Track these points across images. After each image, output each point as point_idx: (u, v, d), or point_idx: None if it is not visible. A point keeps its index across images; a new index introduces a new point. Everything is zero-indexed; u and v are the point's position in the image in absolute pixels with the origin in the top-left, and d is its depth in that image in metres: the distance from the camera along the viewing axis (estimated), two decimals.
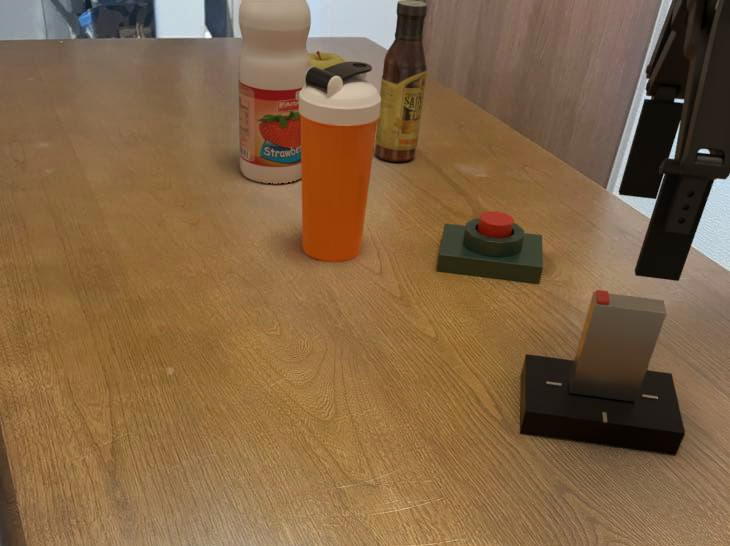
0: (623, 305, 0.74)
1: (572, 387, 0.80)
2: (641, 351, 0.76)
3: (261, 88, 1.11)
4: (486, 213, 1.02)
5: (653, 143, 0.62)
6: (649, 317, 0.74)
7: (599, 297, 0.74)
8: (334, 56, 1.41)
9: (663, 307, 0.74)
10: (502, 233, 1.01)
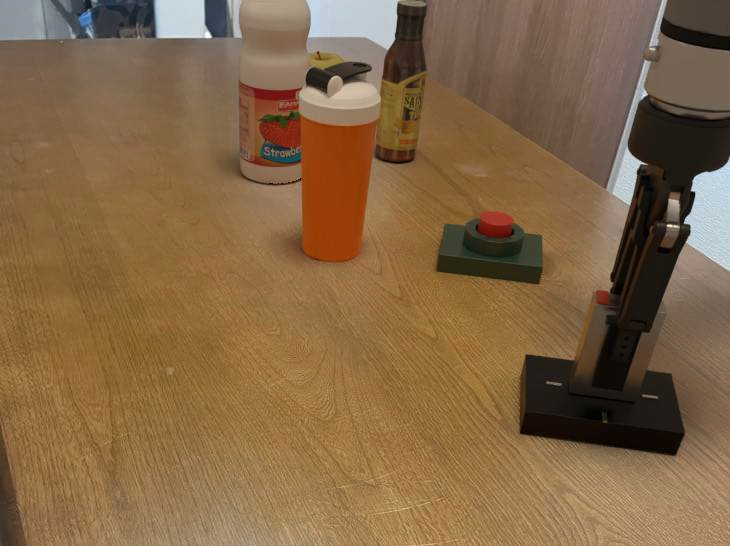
0: None
1: (572, 387, 0.80)
2: (641, 351, 0.76)
3: (261, 87, 1.11)
4: (486, 213, 1.02)
5: None
6: None
7: (599, 297, 0.74)
8: (334, 56, 1.41)
9: (663, 307, 0.74)
10: (502, 233, 1.01)
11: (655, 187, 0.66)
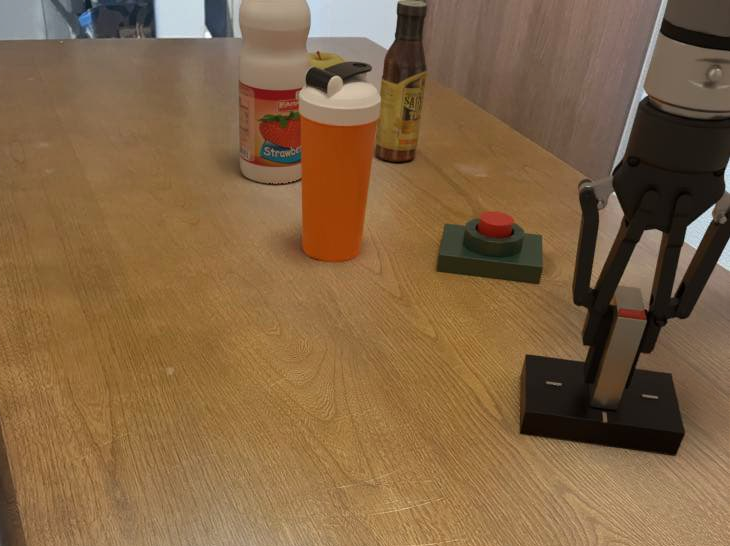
0: (639, 306, 0.74)
1: None
2: None
3: (261, 87, 1.11)
4: (486, 213, 1.02)
5: None
6: None
7: (637, 314, 0.72)
8: (334, 56, 1.41)
9: (629, 287, 0.76)
10: (502, 233, 1.01)
11: (692, 189, 0.67)
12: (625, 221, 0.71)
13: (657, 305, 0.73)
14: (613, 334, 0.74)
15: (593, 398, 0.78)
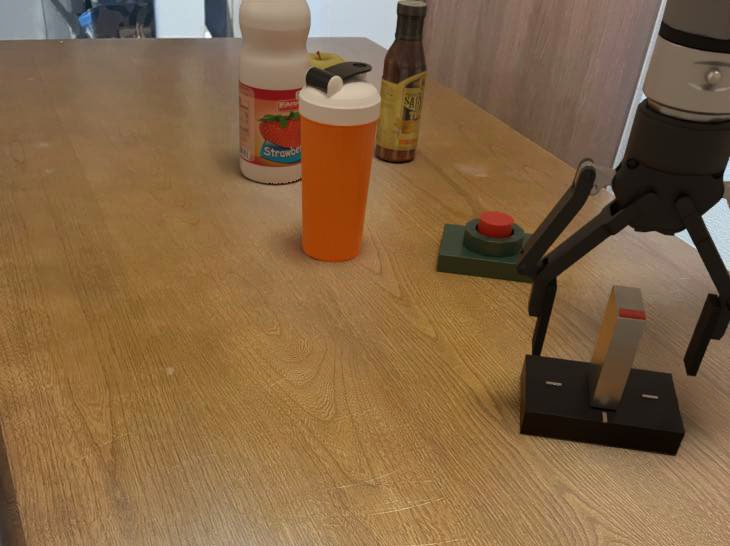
0: (639, 306, 0.74)
1: (618, 403, 0.78)
2: None
3: (261, 87, 1.11)
4: (486, 213, 1.02)
5: None
6: None
7: (636, 314, 0.72)
8: (334, 56, 1.41)
9: (629, 287, 0.76)
10: (502, 233, 1.01)
11: (691, 191, 0.67)
12: (609, 209, 0.70)
13: (723, 293, 0.71)
14: (613, 334, 0.74)
15: (593, 398, 0.78)
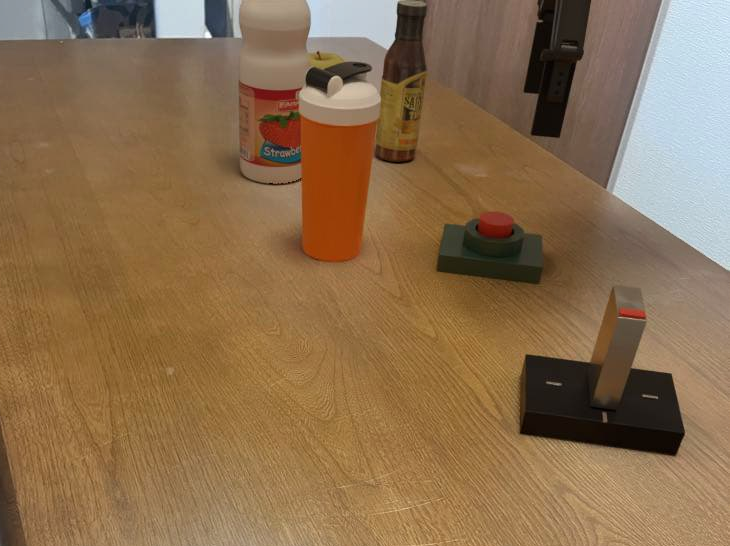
0: (639, 306, 0.74)
1: (618, 403, 0.78)
2: None
3: (261, 87, 1.11)
4: (486, 213, 1.02)
5: None
6: None
7: (636, 314, 0.72)
8: (334, 56, 1.41)
9: (629, 287, 0.76)
10: (502, 233, 1.01)
11: None
12: None
13: (551, 43, 0.78)
14: (613, 334, 0.74)
15: (593, 398, 0.78)
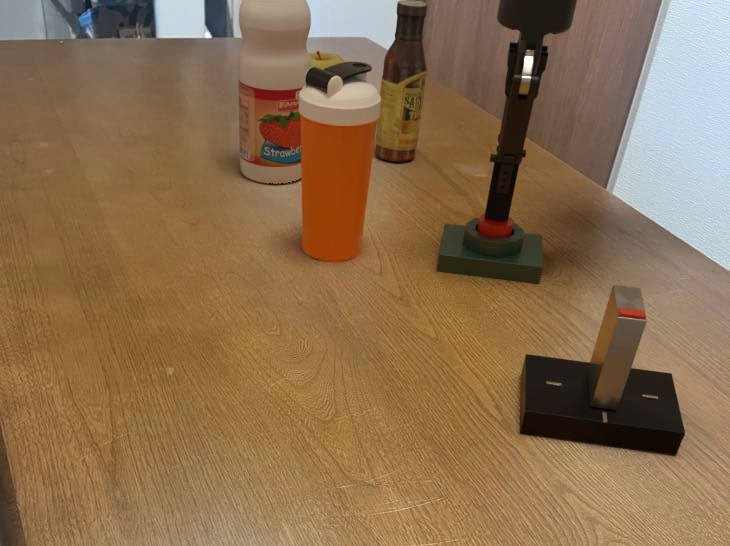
0: (639, 306, 0.74)
1: (618, 403, 0.78)
2: None
3: (261, 87, 1.11)
4: None
5: None
6: None
7: (636, 314, 0.72)
8: (334, 56, 1.41)
9: (629, 287, 0.76)
10: (502, 234, 1.01)
11: (518, 48, 0.88)
12: None
13: (499, 145, 0.95)
14: (613, 334, 0.74)
15: (593, 398, 0.78)
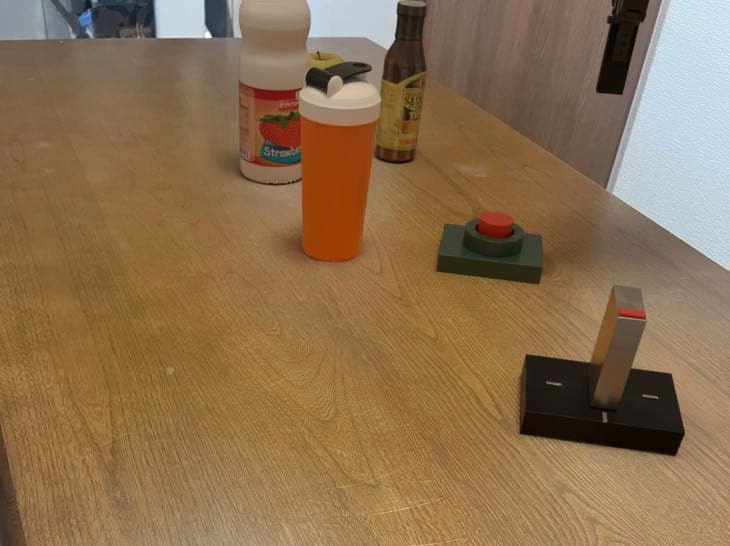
0: (639, 306, 0.74)
1: (618, 403, 0.78)
2: None
3: (261, 87, 1.11)
4: (486, 213, 1.02)
5: None
6: None
7: (636, 314, 0.72)
8: (334, 56, 1.41)
9: (629, 287, 0.76)
10: (502, 233, 1.01)
11: None
12: None
13: (618, 4, 0.87)
14: (613, 334, 0.74)
15: (593, 398, 0.78)
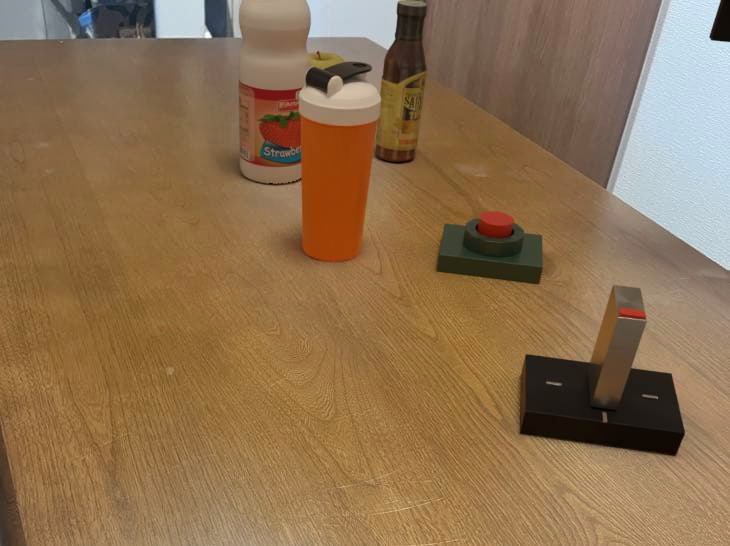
0: (639, 306, 0.74)
1: (618, 403, 0.78)
2: None
3: (261, 87, 1.11)
4: (486, 213, 1.02)
5: None
6: None
7: (636, 314, 0.72)
8: (334, 56, 1.41)
9: (629, 287, 0.76)
10: (502, 233, 1.01)
11: None
12: None
13: None
14: (613, 334, 0.74)
15: (593, 398, 0.78)
